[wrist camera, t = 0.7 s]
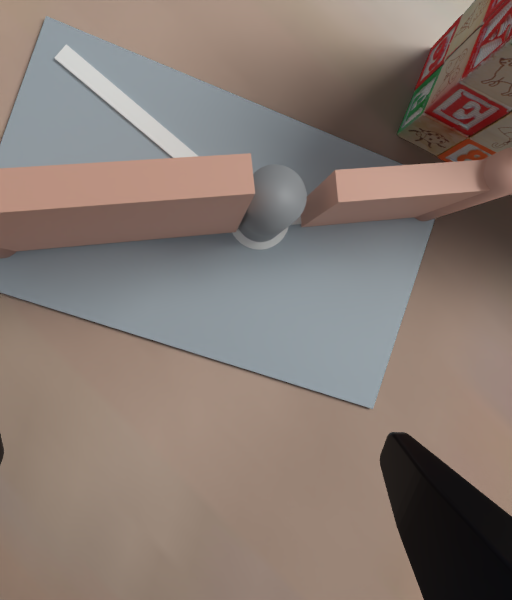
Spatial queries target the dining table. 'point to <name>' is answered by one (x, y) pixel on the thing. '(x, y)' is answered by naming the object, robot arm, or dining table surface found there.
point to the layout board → (214, 247)
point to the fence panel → (145, 201)
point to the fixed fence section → (408, 191)
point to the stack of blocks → (466, 88)
